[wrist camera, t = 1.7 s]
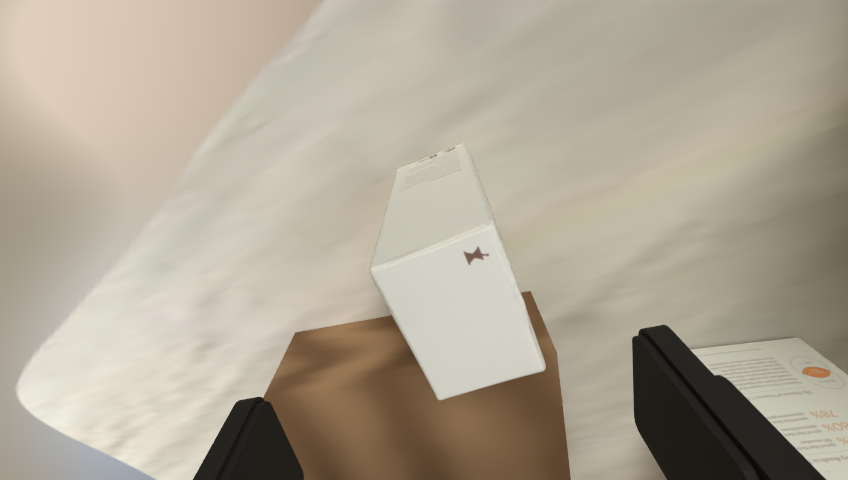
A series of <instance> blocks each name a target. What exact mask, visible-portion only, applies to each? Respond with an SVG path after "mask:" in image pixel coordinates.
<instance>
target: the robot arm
mask: <svg viewBox="0 0 848 480" xmlns="http://www.w3.org/2000/svg"><path fill="white" fill-rule="evenodd" d="M632 349H633V388H634V418H635V423H636V426H637V428H638V431H639V433H640V434H641V436H642V438H643V440H644V441H645V443H646V445H647V446H648V448H649V450H650V451H651V453H652V455H653V456H654V458H655V460H656V461H657V463H658V465H659V466H660V468H661V470H662V472H663V473H664V475H665V477H666V478H667V480H826V479H825V478H824V477H823V476H822V475H821V474H820V473H819V472H818V471H817V470H816V469H815V468H814V467H813V466H812V464H811V463H810V462H809V461H808V460H807V459H806V458H805V457H804V456H803V455H802V454H801V453H800V452H799V451H798V450H797V449H796V448H795V447H794V446H793V445H792V444H791V443H790V442H789V441H788V440H787V439H786V438H785V437H784V436H783V435H782V434H781V433H780V432H779V431H778V430H777V429H776V428H775V427H774V426H773V425H772V424H771V423H770V422H769V421H768V420H767V418H766V417H765V416H764V415H763V414H762V413H761V412H760V411H759V410H758V409H757V408H756V407H755V406H754V405H753V404H752V403H751V402H750V401H749V400H748V399H747V398H746V397H745V396H744V395H743V394H742V393H741V392H740V391H739V390H738V389H737V388H736V387H735V386H734V385H733V384H732V383H731V382H730V381H729V380H728V379H727V378H725V377H723V376H721V375H714V374H713V373H712V372H711V371H710V370H709V369H708V368H707V367H706V366H705V365H704V364H703V363H702V362H701V361H700V360H699V358H698V357H697V356H696V355H695V354H694V353H693V352H692V351H691V350H690V349H689V348H688V347H687V346H686V345H685V344H684V343H683V342H682V341H681V339H680V338H679V337H678V336H677V335H676V334H675V333H674V332H673V331H672V330H671V329H670V328H669V327H668V326H666V325H661V326H655V327H649V328H644V329H640V331H639V335H638V336H634V337H633V339H632ZM193 480H304V473H303V470H302V467H301V465H300V463H299V461H298V459H297V457H296V455H295V453H294V451H293V449H292V446H291V444H290V442H289V440H288V438H287V436H286V434H285V432H284V430H283V428H282V425H281V423H280V421H279V419H278V417H277V415H276V413H275V411H274V409H273V406H272V405H271V403H270V402H269V401H266V402H265V400H264V399H263V398H262V397H256V398H250V399H244V400H239V401H238V402H236V404H235V405H234V407H233V409H232V410H231V412H230V414H229V416H228V418H227V419H226V421H225V423H224V425H223V427H222V428H221V430H220V432H219V434H218V436H217V437H216V439H215V441H214V443H213V445H212V446H211V448H210V450H209V452H208V454H207V455H206V457H205V459H204V461H203V463H202V464H201V466H200V468H199V470H198V472H197V473H196V475H195V477H194V479H193Z"/></svg>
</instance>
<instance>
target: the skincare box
mask: <svg viewBox="0 0 848 480" xmlns="http://www.w3.org/2000/svg"><path fill="white" fill-rule="evenodd" d="M369 272H370V275H371V276H372V278H373V280H374V282H375V284H376V286H377V288H378V290H379V292H380V293H381V295H382V297H383V299H384V301H385V303H386V305H387V307H388V308H389V310H390V312H391V314H392V316H393V318H394V320H395V322H396V323H397V325H398V327H399V329H400V331H401V333H402V334H403V336H404V338H405V340H406V342H407V343H408V345H409V347H410V349H411V351H412V352H413V354H414V356H415V358H416V360H417V361H418V363H419V365H420V367H421V369H422V371H423V373H424V375H425V376H426V378H427V380H428V382H429V384H430V385H431V387H432V389H433V391H434V393H435V395H436V398H437V399H438V400H444V399H447V398H450V397H454V396H457V395H460V394H464V393H467V392H470V391H474V390H477V389H481V388H484V387H487V386H491V385H494V384H498V383H501V382H505V381H508V380H512V379H516V378H519V377H523V376H527V375H531V374H535V373H539V372H543V371H544V370H545V369H546V364H545V361H544V358H543V355H542V352H541V349H540V347H539V344H538V341H537V338H536V335H535V332H534V330H533V327H532V324H531V321H530V318H529V315H528V312H527V309H526V305H525V302H524V299H523V297H522V295H521V292H520V290H519V287H518V284H517V281H516V278H515V275H514V272H513V269H512V266H511V264H510V261H509V258H508V255H507V253H506V250H505V247H504V245H503V242H502V239H501V236H500V233H499V231H498V228H497V225H496V222H495V219H494V217H493V214H492V211H491V208H490V206H489V203H488V200H487V198H486V195H485V192H484V190H483V187H482V184H481V182H480V179H479V176H478V174H477V171H476V169H475V166H474V163H473V161H472V158H471V156H470V153H469V151H468V148H467V145H466V143H465V142H464V143H461V144H458V145H456V146H453V147H451V148H448V149H446V150H443V151H440V152H438V153H435V154H433V155H431V156H428V157H426V158H424V159H421V160H419V161H416V162H414V163H411V164H409V165H406V166H404V167H401V168H399V169H398V170H397V172H396V176H395V180H394V183H393V187H392V190H391V194H390V197H389V201H388V204H387V208H386V212H385V215H384V219H383V222H382V226H381V229H380V233H379V236H378V240H377V243H376V247H375V251H374V255H373V258H372V262H371V265H370V269H369Z"/></svg>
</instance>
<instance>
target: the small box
mask: <svg viewBox="0 0 848 480" xmlns="http://www.w3.org/2000/svg"><path fill="white" fill-rule="evenodd" d="M690 350H691V351H692V352H693V353H694V354H695V355H696V356H697V357H698V358H699V360H700V361H701V362H702V363H703V364H704V365H705V366H706V367H707V368H708V369H709V370H710V371H711V372H712V373H713V374H714V375H721V376H723V377H725V378H727V379H728V380H729V381H730V382H731V383H732V384H733V385H734V386H735V387H736V388H737V389H738V390H739V391H740V392H741V393H742V394H743V395H744V396H745V397H746V398H747V399H748V400H749V401H750V402H751V403H752V404H753V405H754V406H755V407H756V408H757V409H758V410H759V411H760V412H761V413H762V414H763V415H764V416H765V417H766V418H767V420H768V421H769V422H770V423H771V424H772V425H773V426H774V427H775V428H776V429H777V430H778V431H779V432H780V433H781V434H782V435H783V436H784V437H785V438H786V439H787V440H788V441H789V442H790V443H791V444H792V445H793V446H794V447H795V448H796V449H797V450H798V451H799V452H800V453H801V454H802V455H803V456H804V457H805V458H806V459H807V460H808V461H809V462H810V463H811V464H812V466H813V467H814V468H815V469H816V470H817V471H818V472H819V473H820V474H821V475H822V476H823V477H824V478H825V479H826V480H848V375H847V374H846V373H845V372H844V371H842V370H841V369H840V368H838V367H837V366H836V365H834V364H833V363H832V362H830V361H829V360H828V359H826V358H825V357H824V356H822V355H821V354H820V353H818V352H817V351H816V350H815V349H813V348H812V347H811V346H809V345H808V344H807V343H805V342H804V341H803V340H801V339H800V338H798V337H795V338H788V339H779V340H770V341H761V342H752V343H743V344H734V345H725V346H716V347H707V348H698V349H690Z"/></svg>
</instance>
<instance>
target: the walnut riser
mask: <svg viewBox="0 0 848 480" xmlns="http://www.w3.org/2000/svg"><path fill="white" fill-rule="evenodd" d="M521 295H522V297H523V299H524V302H525V305H526V309H527V312H528V315H529V318H530V321H531V324H532V327H533V330H534V332H535V335H536V338H537V341H538V344H539V347H540V349H541V352H542V355H543V358H544V361H545V364H546V369H545V370H544V371H543V372H539V373H535V374H531V375H527V376H523V377H519V378H516V379H512V380H508V381H505V382H501V383H498V384H494V385H491V386H487V387H484V388H481V389H477V390H474V391H470V392H467V393H464V394H460V395H457V396H454V397H450V398H447V399H444V400H438V399H437V398H436V395H435V393H434V391H433V389H432V387H431V385H430V384H429V382H428V380H427V378H426V376H425V375H424V373H423V371H422V369H421V367H420V365H419V363H418V361H417V360H416V358H415V356H414V354H413V352H412V351H411V349H410V347H409V345H408V343H407V342H406V340H405V338H404V336H403V334H402V333H401V331H400V329H399V327H398V325H397V323H396V322H395V320H394V318H393V316H388V317H382V318H376V319H371V320H365V321H359V322H354V323H348V324H342V325H337V326H331V327H325V328H320V329H314V330H308V331H303V332H297V333H295V335H294V337H293V339H292V341H291V343H290V345H289V347H288V349H287V351H286V353H285V355H284V357H283V359H282V361H281V363H280V365H279V367H278V369H277V371H276V373H275V375H274V377H273V379H272V381H271V383H270V385H269V387H268V389H267V391H266V393H265V395H264V397H263V399H264V400H265V402H266V401H269V402H270V403H271V405H272V406H273V409H274V411H275V413H276V415H277V417H278V419H279V421H280V423H281V425H282V428H283V430H284V432H285V434H286V436H287V438H288V440H289V442H290V444H291V446H292V449H293V451H294V453H295V455H296V457H297V459H298V461H299V463H300V465H301V467H302V470H303V473H304V480H571V478H570V469H569V460H568V451H567V442H566V433H565V424H564V415H563V406H562V397H561V388H560V379H559V370H558V361H557V352H556V350H555V348H554V345H553V343H552V341H551V338H550V336H549V334H548V331H547V329H546V327H545V324H544V322H543V319H542V317H541V315H540V312H539V310H538V308H537V305H536V303H535V301H534V298H533V296H532V294H531V291H529V292H523V293H521Z"/></svg>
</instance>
